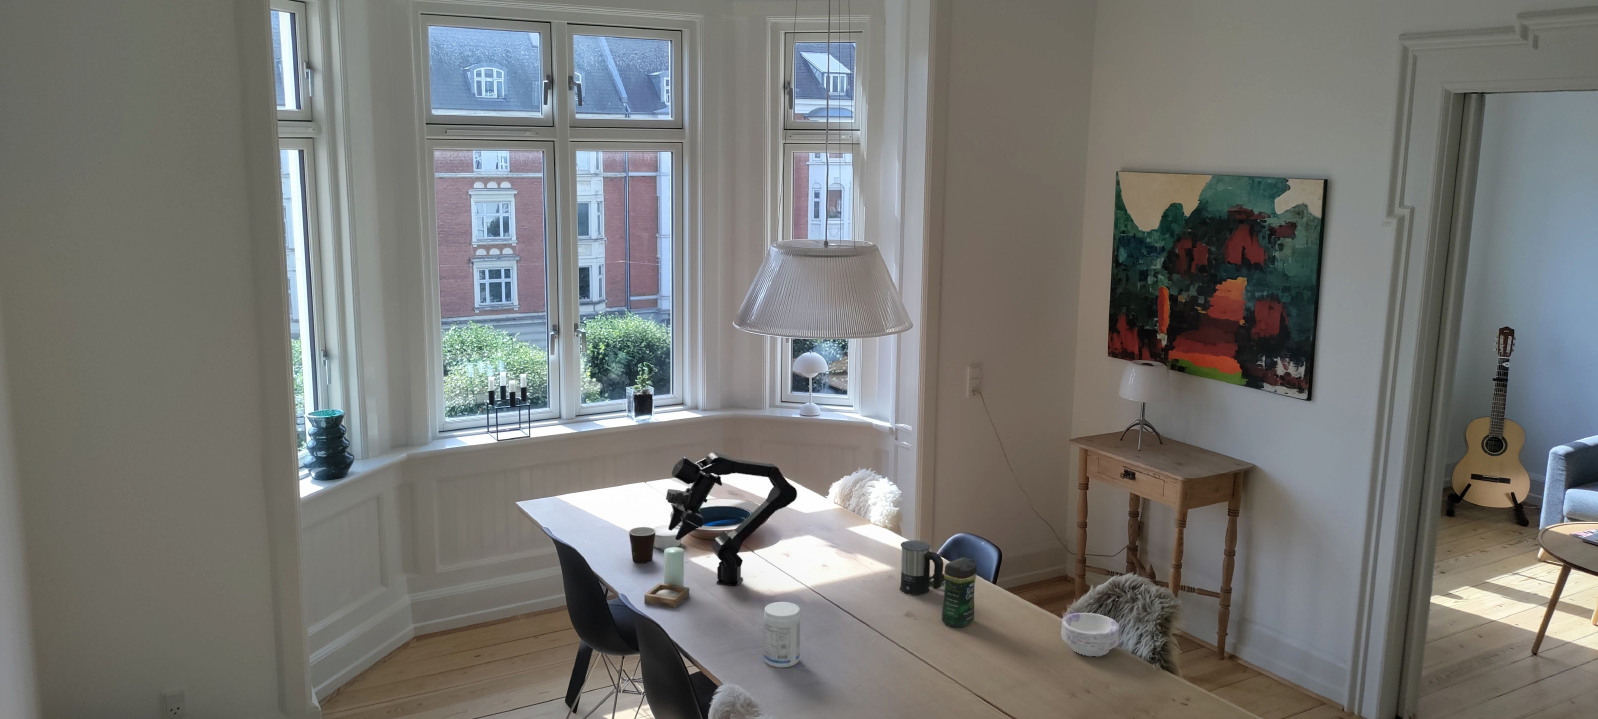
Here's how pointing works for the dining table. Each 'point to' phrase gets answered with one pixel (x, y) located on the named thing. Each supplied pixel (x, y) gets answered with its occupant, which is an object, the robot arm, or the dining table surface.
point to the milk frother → (919, 568)
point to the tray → (666, 595)
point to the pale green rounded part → (674, 566)
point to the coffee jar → (959, 592)
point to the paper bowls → (1090, 633)
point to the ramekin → (666, 537)
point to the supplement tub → (781, 634)
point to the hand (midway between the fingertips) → (673, 534)
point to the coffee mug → (642, 544)
